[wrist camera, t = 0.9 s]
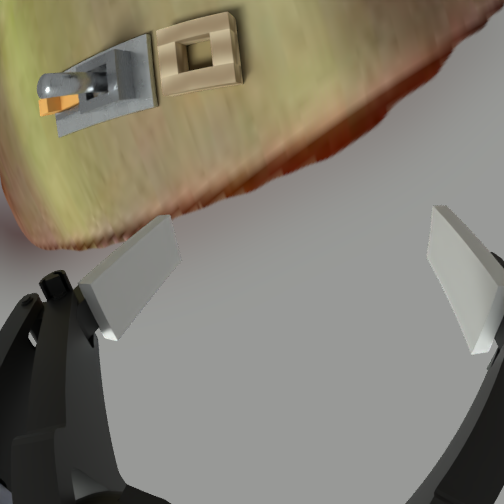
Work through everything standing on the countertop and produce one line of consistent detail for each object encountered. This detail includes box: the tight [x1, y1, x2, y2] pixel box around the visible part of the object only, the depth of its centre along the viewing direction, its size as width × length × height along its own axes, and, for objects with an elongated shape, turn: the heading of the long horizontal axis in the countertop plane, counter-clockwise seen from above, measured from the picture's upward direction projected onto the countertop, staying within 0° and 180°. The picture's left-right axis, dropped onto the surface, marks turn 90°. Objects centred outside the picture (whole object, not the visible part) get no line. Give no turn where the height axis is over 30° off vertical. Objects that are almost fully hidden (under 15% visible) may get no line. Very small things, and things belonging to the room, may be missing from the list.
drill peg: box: [37, 72, 109, 99], centre depth 29 cm, size 3×3×14 cm
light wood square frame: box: [156, 12, 243, 96], centre depth 31 cm, size 10×10×4 cm
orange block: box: [39, 94, 79, 116], centre depth 35 cm, size 3×8×5 cm, turn 96°
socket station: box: [55, 34, 158, 137], centre depth 35 cm, size 12×22×5 cm, turn 96°
